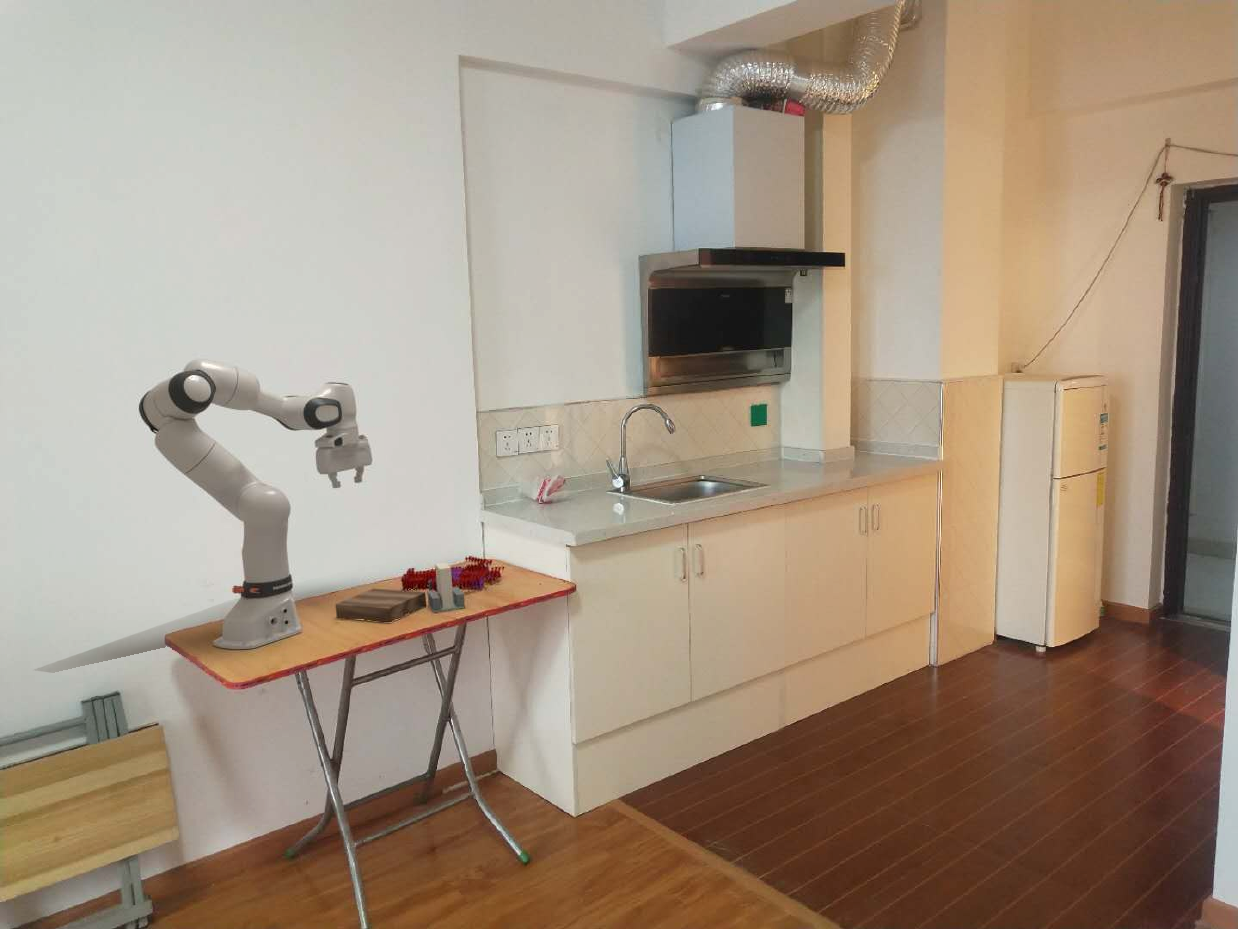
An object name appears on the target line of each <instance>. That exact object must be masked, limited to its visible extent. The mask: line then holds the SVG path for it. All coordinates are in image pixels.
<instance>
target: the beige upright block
mask: <svg viewBox="0 0 1238 929" xmlns="http://www.w3.org/2000/svg"><path fill="white" fill-rule="evenodd" d="M434 566H435V567H434V568H436V580H437V589H436V592H437V591H438V592H437V594H438V595H439V597H440V603H441V606H442V608H449V607H454V602H453V590H452V578H451V568H450V567H451V566H449V564H448V563H447V562H442V563H441V562H440V563H439V562H438V563H434Z"/></svg>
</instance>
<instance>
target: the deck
mask: <svg viewBox="0 0 1238 929" xmlns="http://www.w3.org/2000/svg"><path fill="white" fill-rule="evenodd" d="M425 606H426V607H427V599H426V592H425V591H414V590H412V591H406V590H405V591H402V590H399V589H386V588H385V589H384V588H371V589H369V590H367V591H364V592H362V593H359V594H357V595H355V596H352V597H350V598H347V599H344V600H343V601H340V602H337V603H335V613H336V614H335V615H336V619H337V618H345V619H344V620H348V619H364V620H371V621H378V622H377V623H382V622H392V621H393V620H395V619H398V620H400V619H402V618H401V617H403V616H405V615H406V614H408V613H411V614H412V612H413V613H415V612H417V611H419V610H421V609H420V608H422V607H424V608H426V607H425ZM418 609H419V610H418ZM422 609H423V608H422ZM416 610H417V611H416ZM414 611H415V612H414ZM405 617H406V616H405ZM399 618H400V619H399ZM403 618H404V617H403ZM371 621H370V622H371ZM379 621H380V622H379ZM392 623H393V622H392Z"/></svg>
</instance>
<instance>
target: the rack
mask: <svg viewBox="0 0 1238 929" xmlns="http://www.w3.org/2000/svg"><path fill="white" fill-rule="evenodd" d="M452 590H453V602H454V607H449V608H442V606H441V603H440V597H439V595H438V592H437V590H433V589H432V590H431V591H429V590H427V602H428V603H427V605H428V606H429V607H431V608H430V609H431V611H432V610H433V611H432V612H433V613H434V614H435V612H437V613H441V611H444V612H448V611H447V610H450V611H454V610H453V609H456V610H461V609H460V608H463V609H465V608H466V606H465V605H466V604H465V594H464V592H463V591H462V590H461V588H459V586H458V587H457V586H456V587H452Z"/></svg>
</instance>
